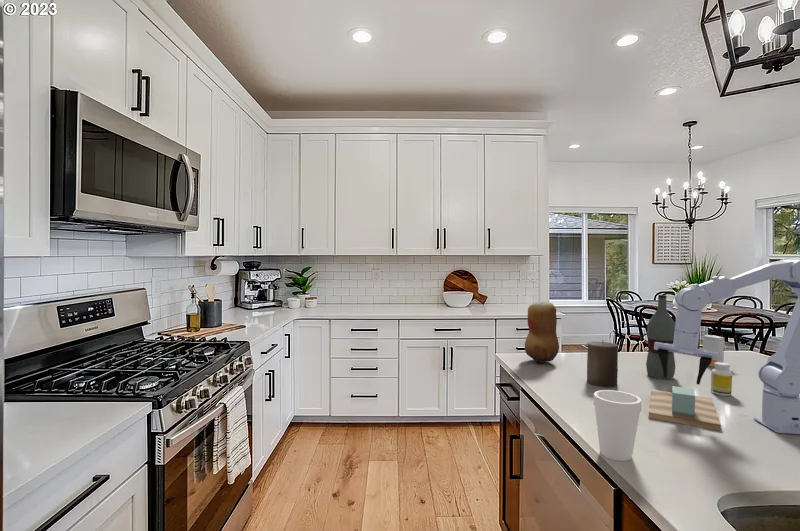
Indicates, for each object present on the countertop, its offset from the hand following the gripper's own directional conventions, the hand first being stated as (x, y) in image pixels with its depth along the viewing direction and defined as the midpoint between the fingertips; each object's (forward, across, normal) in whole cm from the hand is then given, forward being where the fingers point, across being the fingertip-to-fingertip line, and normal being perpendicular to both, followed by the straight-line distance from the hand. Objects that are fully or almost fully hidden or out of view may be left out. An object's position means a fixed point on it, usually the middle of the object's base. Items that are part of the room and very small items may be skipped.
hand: (681, 380), depth 120 cm
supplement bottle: (+9, +9, +32) cm, 34 cm away
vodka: (+10, -9, +43) cm, 45 cm away
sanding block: (+8, +1, -1) cm, 9 cm away
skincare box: (+8, +5, +74) cm, 75 cm away
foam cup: (+12, -8, -37) cm, 39 cm away
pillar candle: (+11, -24, +20) cm, 33 cm away
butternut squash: (+13, -51, +35) cm, 63 cm away
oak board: (+10, 0, +6) cm, 11 cm away
